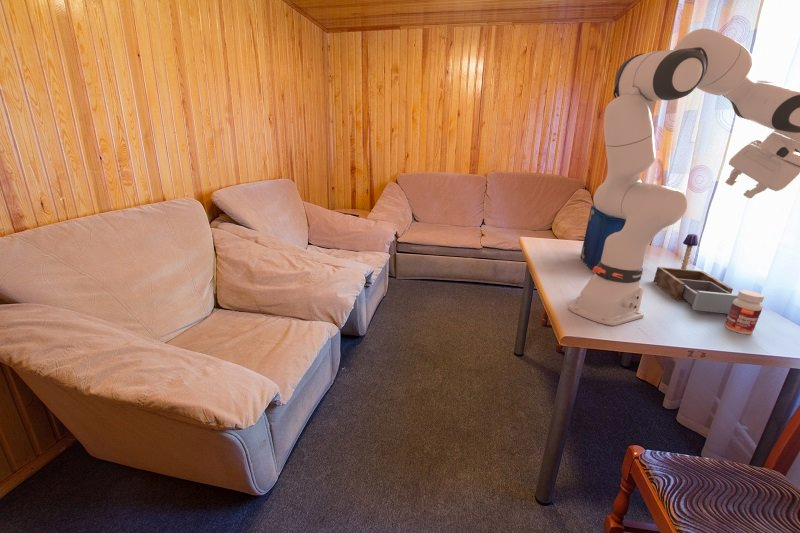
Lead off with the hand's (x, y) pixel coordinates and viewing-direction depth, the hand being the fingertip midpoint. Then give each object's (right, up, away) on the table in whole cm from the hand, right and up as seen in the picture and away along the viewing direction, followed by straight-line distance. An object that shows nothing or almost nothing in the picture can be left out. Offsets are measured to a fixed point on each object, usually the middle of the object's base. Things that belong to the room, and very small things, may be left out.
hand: (737, 190), depth 111 cm
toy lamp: (+13, -27, +38) cm, 48 cm away
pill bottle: (-7, -42, -7) cm, 43 cm away
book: (-21, -24, +42) cm, 53 cm away
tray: (-3, -35, +9) cm, 36 cm away
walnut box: (-1, -33, +19) cm, 38 cm away
